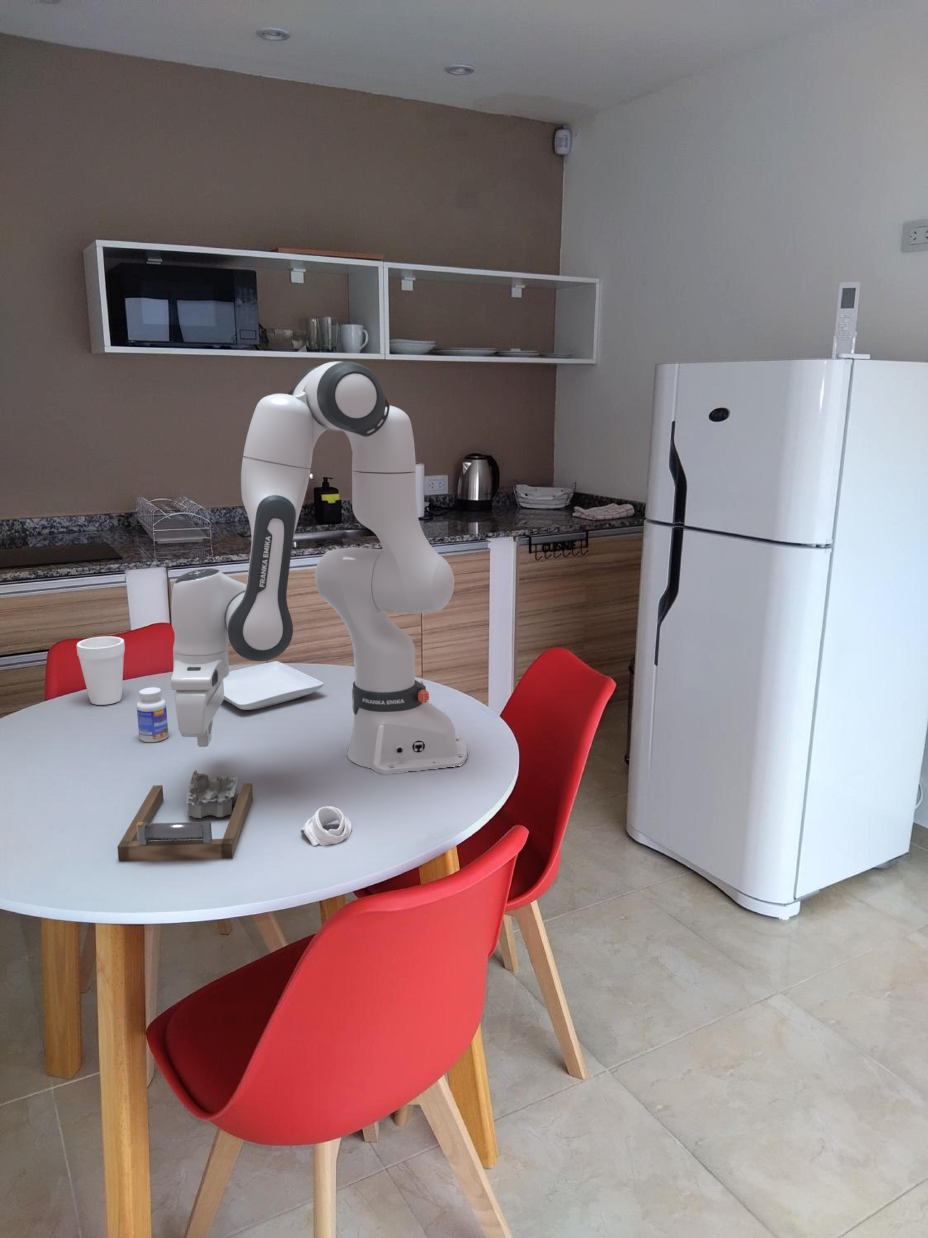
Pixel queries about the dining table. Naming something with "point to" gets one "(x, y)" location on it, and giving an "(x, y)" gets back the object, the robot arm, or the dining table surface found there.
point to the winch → (174, 831)
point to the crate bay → (183, 848)
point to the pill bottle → (152, 715)
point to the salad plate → (267, 685)
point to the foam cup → (102, 668)
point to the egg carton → (210, 795)
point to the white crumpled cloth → (322, 818)
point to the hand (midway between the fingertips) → (204, 744)
